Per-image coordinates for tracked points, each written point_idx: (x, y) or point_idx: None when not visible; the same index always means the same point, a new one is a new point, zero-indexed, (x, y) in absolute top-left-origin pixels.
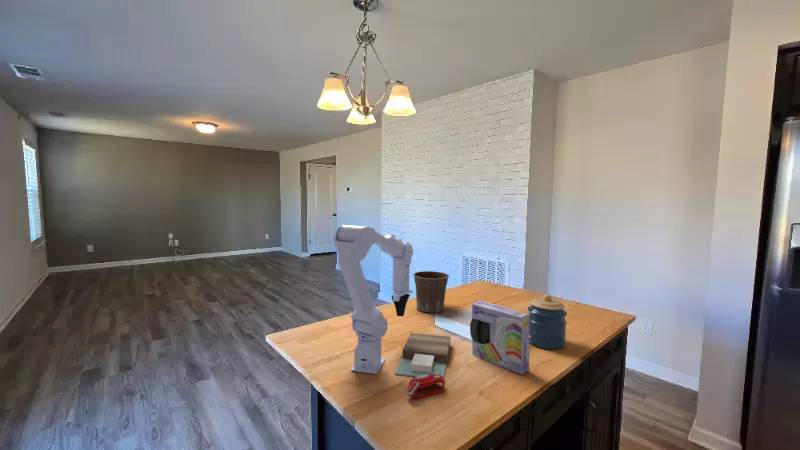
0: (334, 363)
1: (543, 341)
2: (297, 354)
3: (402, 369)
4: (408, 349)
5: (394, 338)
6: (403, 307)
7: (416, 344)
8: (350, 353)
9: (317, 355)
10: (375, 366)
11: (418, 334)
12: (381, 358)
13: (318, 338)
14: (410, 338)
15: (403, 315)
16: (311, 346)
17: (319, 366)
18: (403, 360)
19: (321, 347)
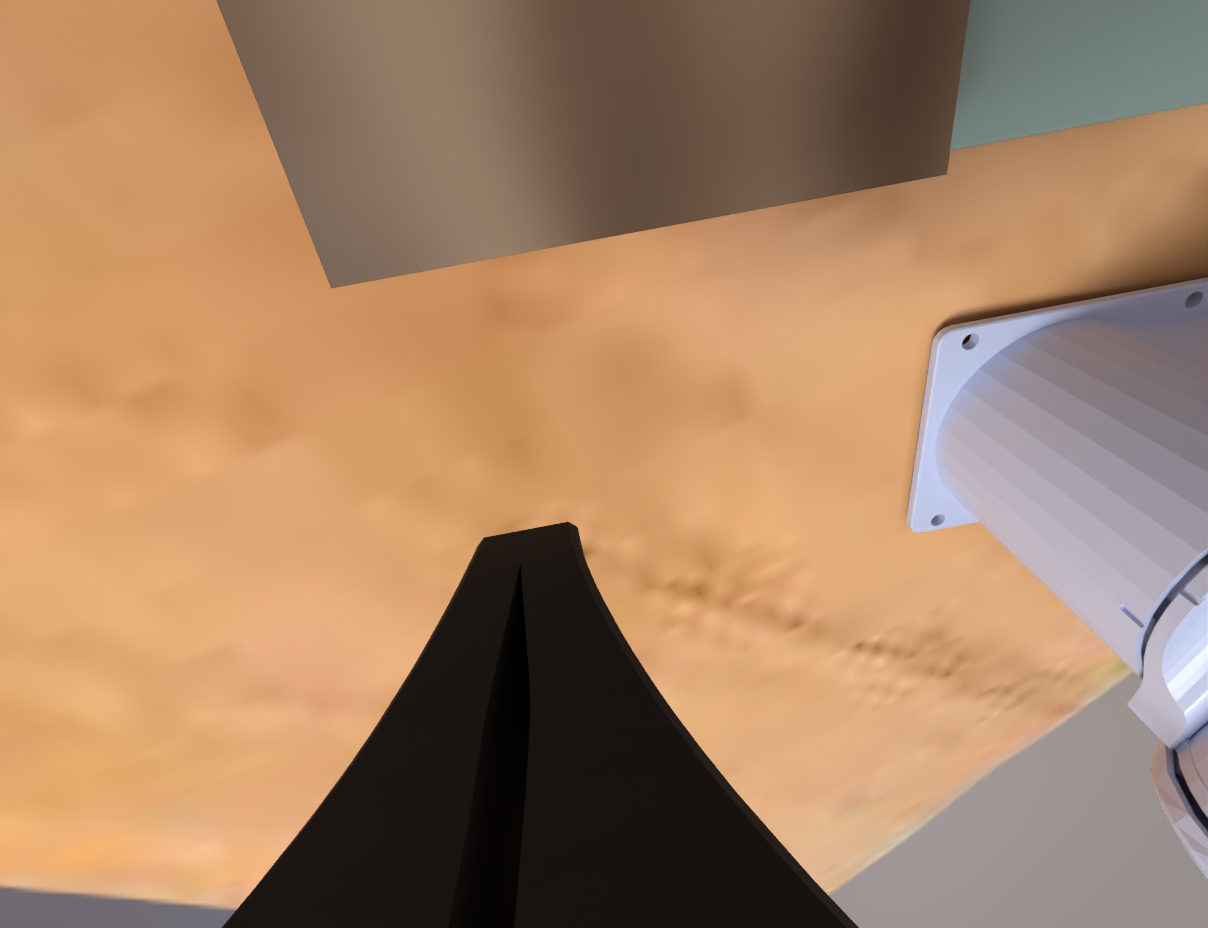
0: (1020, 615)
1: None
2: (920, 797)
3: (1191, 32)
4: (927, 85)
5: (408, 455)
6: (667, 714)
7: (719, 15)
8: (854, 610)
9: (918, 731)
10: (1203, 326)
11: (310, 137)
12: (956, 362)
13: None
14: (535, 211)
15: (515, 534)
16: (806, 804)
17: (1063, 657)
18: (958, 116)
19: (806, 768)
